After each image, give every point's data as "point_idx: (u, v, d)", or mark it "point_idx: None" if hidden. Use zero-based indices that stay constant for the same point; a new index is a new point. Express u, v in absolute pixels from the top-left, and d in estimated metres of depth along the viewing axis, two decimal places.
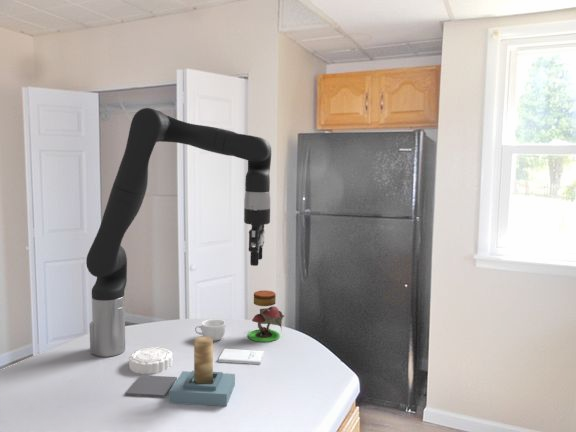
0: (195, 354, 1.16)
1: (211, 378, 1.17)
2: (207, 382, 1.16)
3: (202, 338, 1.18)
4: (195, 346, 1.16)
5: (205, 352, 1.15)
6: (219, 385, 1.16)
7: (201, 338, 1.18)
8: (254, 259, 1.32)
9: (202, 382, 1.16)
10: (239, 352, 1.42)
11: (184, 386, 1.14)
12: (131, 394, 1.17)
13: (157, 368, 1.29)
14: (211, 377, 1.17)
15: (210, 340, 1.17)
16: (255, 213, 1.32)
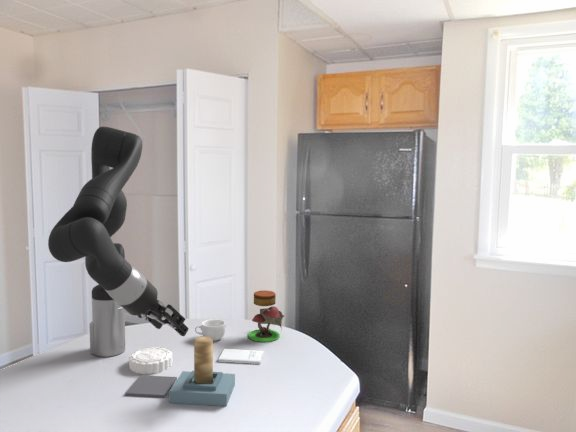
0: (195, 354, 1.16)
1: (211, 378, 1.17)
2: (207, 382, 1.16)
3: (202, 338, 1.18)
4: (195, 346, 1.16)
5: (205, 352, 1.15)
6: (219, 385, 1.16)
7: (201, 338, 1.18)
8: None
9: (202, 382, 1.16)
10: (239, 352, 1.42)
11: (184, 386, 1.14)
12: (131, 394, 1.17)
13: (157, 368, 1.29)
14: (211, 377, 1.17)
15: (210, 340, 1.17)
16: None
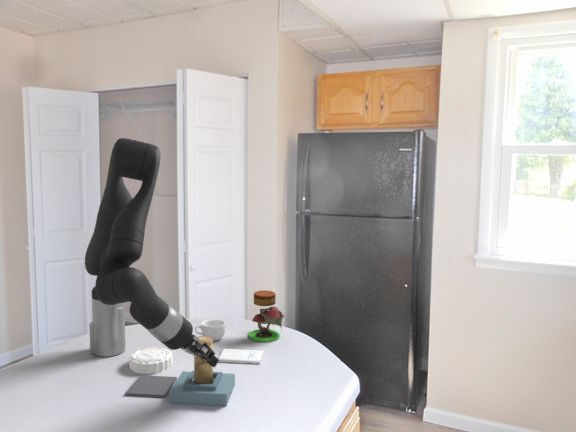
0: None
1: (211, 378, 1.17)
2: (207, 382, 1.16)
3: (202, 338, 1.18)
4: None
5: None
6: (219, 385, 1.16)
7: (201, 338, 1.18)
8: None
9: (202, 382, 1.16)
10: (239, 352, 1.42)
11: (184, 386, 1.14)
12: (131, 394, 1.17)
13: (157, 368, 1.29)
14: (211, 377, 1.17)
15: (210, 340, 1.17)
16: None
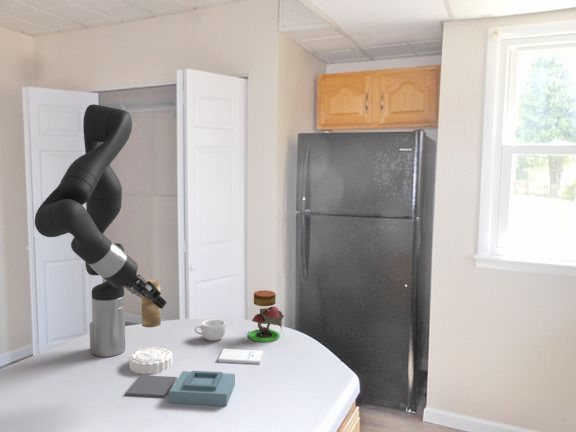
0: None
1: (158, 320, 1.19)
2: (154, 323, 1.17)
3: (150, 281, 1.19)
4: None
5: None
6: (219, 385, 1.16)
7: (149, 281, 1.19)
8: None
9: (149, 323, 1.17)
10: (239, 352, 1.42)
11: (184, 386, 1.14)
12: (131, 394, 1.17)
13: (157, 368, 1.29)
14: (158, 319, 1.19)
15: (157, 282, 1.18)
16: None
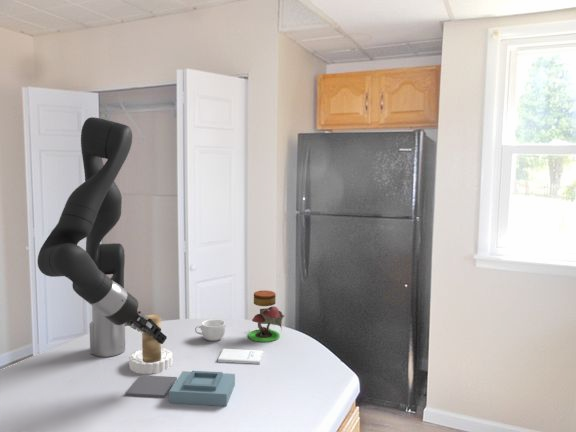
0: None
1: (159, 355, 1.19)
2: (154, 358, 1.18)
3: (150, 316, 1.20)
4: None
5: None
6: (219, 385, 1.16)
7: (149, 316, 1.20)
8: None
9: (149, 358, 1.18)
10: (238, 352, 1.42)
11: (184, 386, 1.14)
12: (131, 394, 1.17)
13: (157, 368, 1.29)
14: (159, 354, 1.19)
15: (158, 317, 1.19)
16: None
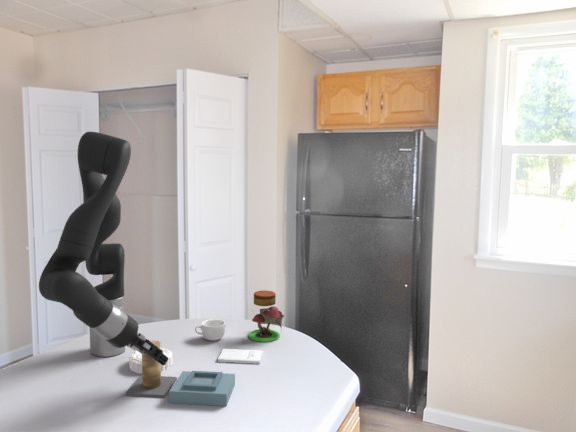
0: (142, 358, 1.19)
1: (159, 381, 1.20)
2: (154, 385, 1.19)
3: None
4: None
5: None
6: (219, 385, 1.16)
7: None
8: None
9: (149, 385, 1.19)
10: (238, 352, 1.42)
11: (184, 386, 1.14)
12: (131, 394, 1.17)
13: None
14: (159, 380, 1.20)
15: (157, 344, 1.20)
16: None
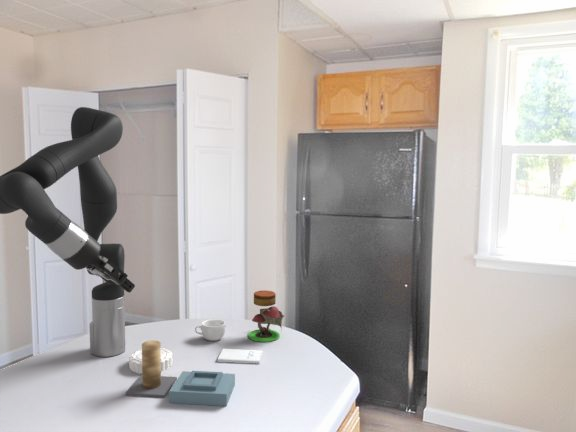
0: (142, 357, 1.19)
1: (159, 381, 1.20)
2: (154, 385, 1.19)
3: (150, 342, 1.21)
4: (142, 350, 1.19)
5: (152, 356, 1.18)
6: (219, 385, 1.16)
7: (149, 342, 1.21)
8: None
9: (149, 385, 1.19)
10: (238, 352, 1.42)
11: (184, 386, 1.14)
12: (131, 394, 1.17)
13: None
14: (159, 380, 1.20)
15: (157, 344, 1.20)
16: None
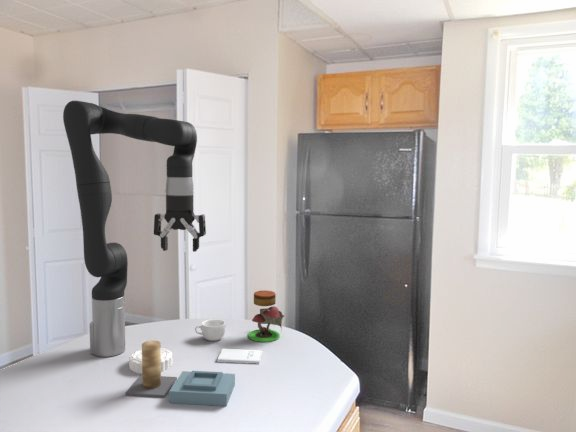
0: (142, 357, 1.19)
1: (159, 381, 1.20)
2: (154, 385, 1.19)
3: (150, 342, 1.21)
4: (142, 350, 1.19)
5: (152, 356, 1.18)
6: (219, 385, 1.16)
7: (149, 342, 1.21)
8: None
9: (149, 385, 1.19)
10: (238, 352, 1.42)
11: (184, 386, 1.14)
12: (131, 394, 1.17)
13: None
14: (159, 380, 1.20)
15: (157, 344, 1.20)
16: None
